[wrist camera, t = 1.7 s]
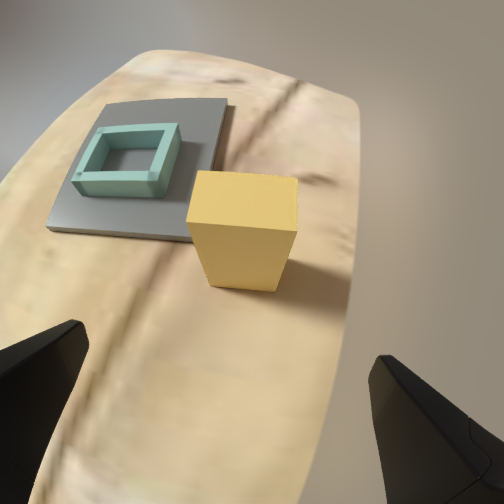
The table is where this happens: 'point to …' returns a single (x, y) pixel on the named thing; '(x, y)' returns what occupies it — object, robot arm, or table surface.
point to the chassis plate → (140, 169)
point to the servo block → (243, 227)
